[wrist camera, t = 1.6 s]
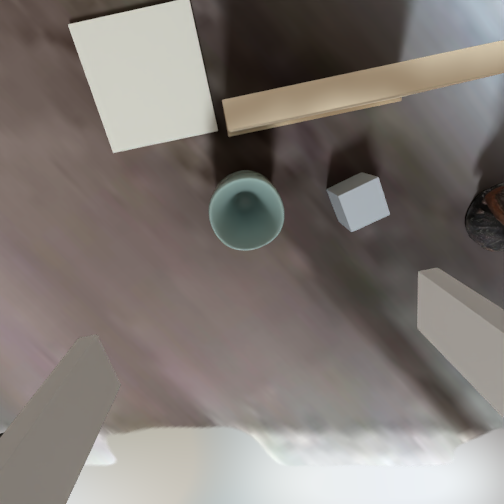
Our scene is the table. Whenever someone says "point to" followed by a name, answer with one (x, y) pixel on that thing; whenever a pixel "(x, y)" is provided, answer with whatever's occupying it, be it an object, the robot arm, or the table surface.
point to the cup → (246, 210)
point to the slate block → (358, 201)
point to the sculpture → (487, 219)
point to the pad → (146, 74)
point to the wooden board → (360, 89)
